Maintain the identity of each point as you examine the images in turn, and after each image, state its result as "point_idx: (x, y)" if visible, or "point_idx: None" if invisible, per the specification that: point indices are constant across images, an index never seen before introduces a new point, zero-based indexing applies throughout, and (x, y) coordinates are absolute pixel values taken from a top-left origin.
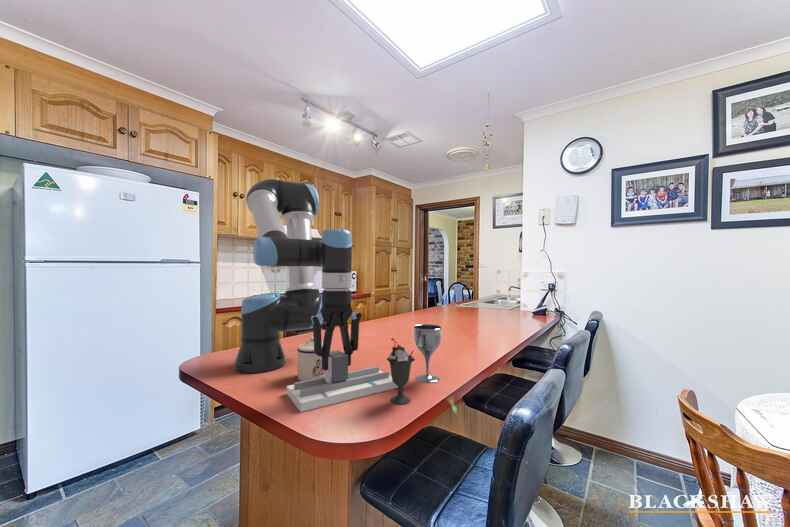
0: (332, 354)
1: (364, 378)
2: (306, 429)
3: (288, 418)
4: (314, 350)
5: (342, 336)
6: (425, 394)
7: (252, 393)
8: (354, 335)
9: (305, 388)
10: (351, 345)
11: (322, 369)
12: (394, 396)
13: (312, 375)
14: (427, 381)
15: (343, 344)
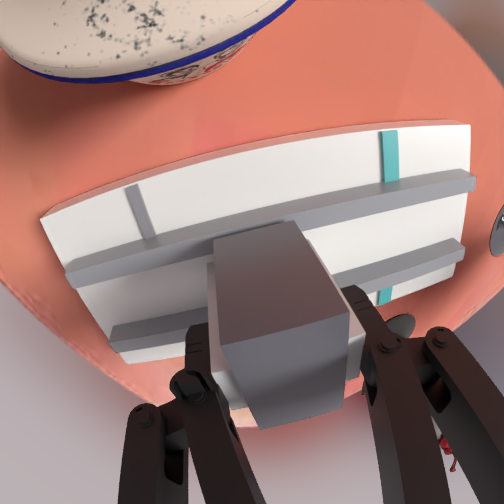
0: (263, 395)
1: (375, 288)
2: (158, 398)
3: (108, 360)
4: (130, 434)
5: (391, 472)
6: (447, 312)
7: None
8: (452, 451)
9: (125, 340)
10: (430, 368)
11: (215, 64)
12: (394, 322)
13: (150, 83)
14: (496, 251)
15: (381, 403)
